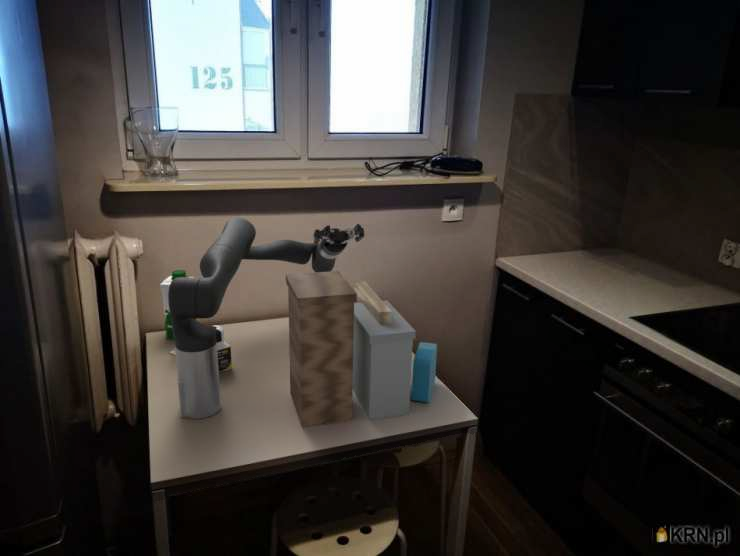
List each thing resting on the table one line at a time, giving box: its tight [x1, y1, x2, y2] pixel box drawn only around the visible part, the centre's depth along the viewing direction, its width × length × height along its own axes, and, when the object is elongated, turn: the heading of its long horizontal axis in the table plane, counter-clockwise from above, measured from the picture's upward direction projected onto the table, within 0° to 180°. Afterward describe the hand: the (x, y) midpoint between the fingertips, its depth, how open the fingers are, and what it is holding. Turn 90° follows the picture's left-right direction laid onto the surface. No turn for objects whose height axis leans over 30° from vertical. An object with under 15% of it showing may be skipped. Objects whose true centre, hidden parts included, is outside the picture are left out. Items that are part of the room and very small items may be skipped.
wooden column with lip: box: [285, 270, 358, 428], centre depth 133 cm, size 13×16×32 cm
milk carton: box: [159, 269, 194, 340], centre depth 173 cm, size 9×9×20 cm
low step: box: [352, 300, 417, 421], centre depth 140 cm, size 11×20×22 cm, turn 17°
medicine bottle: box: [208, 324, 233, 373], centre depth 154 cm, size 7×7×12 cm
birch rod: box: [353, 281, 392, 324], centre depth 142 cm, size 3×22×3 cm, turn 17°
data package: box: [410, 341, 438, 404], centre depth 145 cm, size 12×4×12 cm, turn 166°
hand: (343, 227), depth 155 cm, fingers open, 8 cm apart
